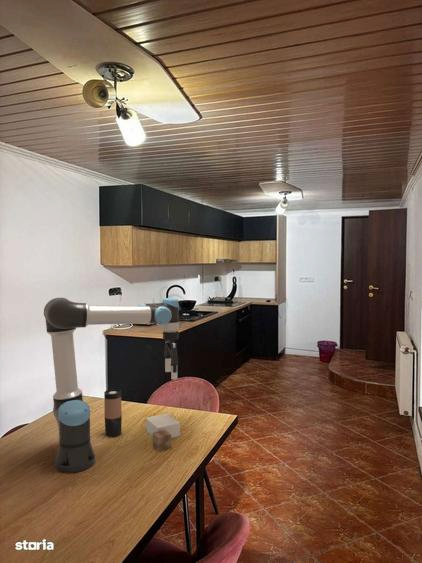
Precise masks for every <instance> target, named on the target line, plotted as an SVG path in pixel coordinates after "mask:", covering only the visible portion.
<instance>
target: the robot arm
mask: <svg viewBox="0 0 422 563" xmlns="http://www.w3.org/2000/svg"><path fill="white" fill-rule="evenodd" d="M179 304H180V303H179V299H178V298H175V297H166V298H162V302H156V303H155V302H154V303H140V304H138V305H89V304H87V302H75V301H71V300H69V299H67V298H65V297H55V298H52V299H50V300H49V301H47V303H46V304H45V306H44V308H43V316H44V318H45V326H46V329H45V330H46V333H47V334H49V335H50V336H51V348H52V358H53V359H52V360H53V368H54V379H55V390H56V391H55V393H54V394H53V396H52V399H53V401H52V402H53V408H52V412H53V416H54V418H55V421H56V423H57V426H58V442H59V443H58V444H59V445H58V449H57V453H56V457H55V458H54V468H55V470H56V471H57V472H59V473H65V474H72V473H78V472H83V471H86V470H87V469H89V468H91V467H92V466H93V465H94V464H95V463H96V453H95V450H94V448H93V445H92V442H91V417H90V416H91V409H90V405H89V403H88V402H86V401H84V399H83V397H84V396H83V390H82V389H80V388H79V386H78V384H79V383H78V374H77V372H78V371H77V362H76V354H75V353H76V352H75V350H76V349H75V342H74V340H75V339H74V332H75V331H76V329H80V328H86V327H88V326H90V325H93V326H94V325H131V324H132V325H137V324H139V325H141V324H158V325H162V340H164V341H165V344H164V354H163V356H164V368H165V369H164V371H165V373H170V372H171V375H170V376H171V377H170V378H171V380H178V365H179V363H180V362H179V355H178V343H176V341H177V340H178V339H179V338H180V331H179V329H180V328H179V326H180V325H181V324H180V323H179V318H180V316H179V312H180V308H179V306H180V305H179Z"/></svg>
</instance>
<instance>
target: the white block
mask: <svg viewBox="0 0 422 563" xmlns="http://www.w3.org/2000/svg"><path fill="white" fill-rule="evenodd" d="M145 430H146V432H148V434H149V435H150V436H152V438H153V432H158V431H162V430H167V431H168V432H169V433H170V434H171V439H174V438H177V437H180V436H181V422H180V421H178V420H176V419H175V418H174V417H173V416H172V415H170V414H169V413H163V414H158V415H153V416H148V417H145Z"/></svg>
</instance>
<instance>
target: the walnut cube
mask: <svg viewBox="0 0 422 563" xmlns="http://www.w3.org/2000/svg"><path fill="white" fill-rule="evenodd" d="M172 442H173V441H172V438H171V434H170V433H169V432H168V431H167V430H162V431H158V432H153V437H152V446H153V448H154V449H155V450H157V452H161V451H162V450H163V451H165V450H166V449H167V450H170V449H172ZM167 450H166V451H167Z"/></svg>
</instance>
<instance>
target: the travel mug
mask: <svg viewBox="0 0 422 563" xmlns="http://www.w3.org/2000/svg"><path fill="white" fill-rule="evenodd" d="M103 394H104V396H103V397H104V398H103V399H104V402H103V403H104V426H105V427H104V430H105V431H104V432H105V433H104V434H105V436H106V437H107V438H116V437H119V436H121V435H122V422H123V421H122V419H123V418H122V413H123V412H122V390H121V389H119V388H117V389H116V388H110V389H106V390H105V391H104V392H103Z"/></svg>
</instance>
